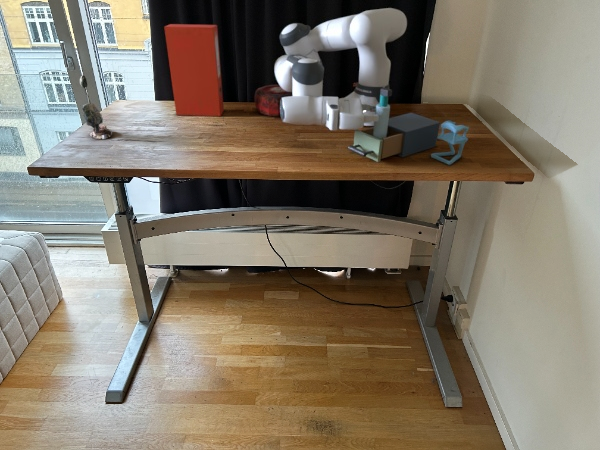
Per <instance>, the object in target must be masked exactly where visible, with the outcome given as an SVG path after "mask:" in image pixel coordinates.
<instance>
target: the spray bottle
mask: <svg viewBox="0 0 600 450" xmlns="http://www.w3.org/2000/svg"><path fill="white" fill-rule="evenodd" d="M392 95H393V89H390V88H389V89H387V88H381V91H380V104H377V105H376V113H375V114H378V116H379V121H377V122H374V126H373V127H374V131H373V137H376V138H378V139H381V140H382V139H383V138H386V136H387V128H388V120H389V118H390V112H391V105H390V104H389V97H392Z"/></svg>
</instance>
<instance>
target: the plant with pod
mask: <svg viewBox="0 0 600 450" xmlns="http://www.w3.org/2000/svg"><path fill="white" fill-rule="evenodd" d="M79 84H80V86H81V88H83V89H84V92H85V95H86V97H87V100H88V103H85V104H83V105H80V106H81V111H82V116H83V118H84V121H85V123H86V126H89V127H92V128H93V129H92V132H90V133H89V134H88V136H89V137H90V138H91V139H93V140H105V139H108V138H110V137H111V136H112V135H113V132H112V129H110V128H108V127H107V126H106V125H105V124H103V122H104V119H103V115H102V113H101V112H100V110H99V109H98V107H97V106H96V105H95V104H94V103H91V101H90V98H89V97H90V96H89V95H88V92H87V87H88V81H87V78H86V76H85V75H83V74H82V75H81V76H80V78H79ZM101 124H102V125H101ZM100 125H101V126H100Z"/></svg>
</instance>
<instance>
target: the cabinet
mask: <svg viewBox="0 0 600 450" xmlns="http://www.w3.org/2000/svg"><path fill="white" fill-rule="evenodd" d="M388 127H389V128H392V129H394V130H397V131H399V132H402V133H405V134H404V140H403V147H402V152H401V153H398V154H395V155H397V156H398V157H401V158H404V157H407V156H411V155H414V154H417V153H420V152H423V151H426V150H429V149H432V148H435V147H436V146H437V141H438V138H437V137H438V135H439V132H440V127H441V122H440V121H437V120H434V119H431V118H428V117H425V116H423V115H419V114H417V113H414V112H408V113H404V114H400V115H397V116H393V117H389V120H388Z"/></svg>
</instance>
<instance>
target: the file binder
mask: <svg viewBox="0 0 600 450" xmlns="http://www.w3.org/2000/svg"><path fill="white" fill-rule="evenodd" d="M164 34H165V43H166V48H167V57H168V63H169V64H168V65H169V70H170V80H171V86H172V93H173V99H174V101H173V102H174V108H175V114H176V116H199V117H200V116H202V117H205V116H206V117H208V116H209V117H221V116H222V114H223V113H224V111H225V110H224V97H223V85H222V72H221V70H222V69H221V58H220V46H219V31H218V25H217V24H188V23H187V24H186V23H185V24H183V23H181V24H179V23H169V24H168V25H165V26H164Z"/></svg>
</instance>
